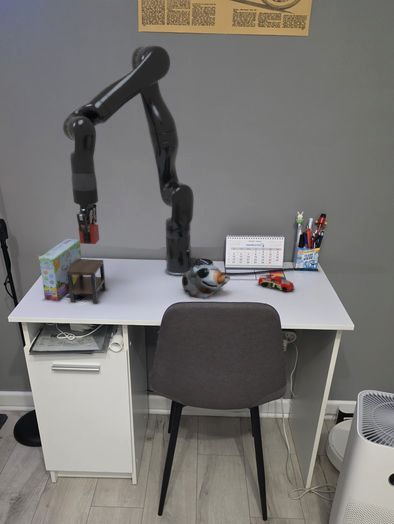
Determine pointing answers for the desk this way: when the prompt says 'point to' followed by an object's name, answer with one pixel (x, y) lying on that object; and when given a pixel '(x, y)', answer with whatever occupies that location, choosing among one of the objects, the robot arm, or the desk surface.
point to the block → (91, 234)
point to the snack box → (59, 268)
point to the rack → (86, 278)
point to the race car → (275, 282)
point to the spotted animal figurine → (203, 281)
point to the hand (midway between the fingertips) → (89, 240)
